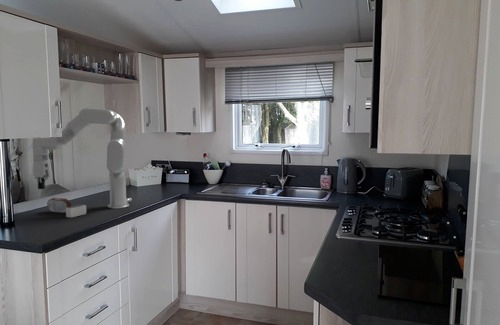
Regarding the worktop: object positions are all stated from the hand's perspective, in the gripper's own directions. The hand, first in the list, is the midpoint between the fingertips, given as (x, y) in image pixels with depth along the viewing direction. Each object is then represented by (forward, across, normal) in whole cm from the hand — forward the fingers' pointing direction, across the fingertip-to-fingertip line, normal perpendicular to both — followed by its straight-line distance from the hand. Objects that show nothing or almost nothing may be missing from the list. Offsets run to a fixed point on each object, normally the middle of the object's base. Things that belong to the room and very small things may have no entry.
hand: (41, 188), depth 217 cm
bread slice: (+13, -15, 0) cm, 19 cm away
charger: (+12, -29, 0) cm, 32 cm away
